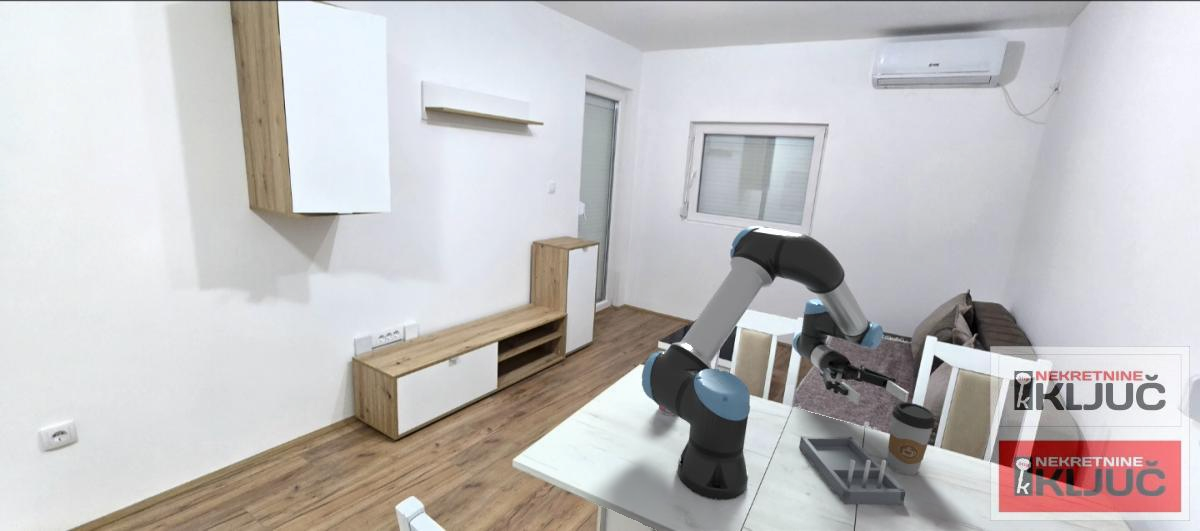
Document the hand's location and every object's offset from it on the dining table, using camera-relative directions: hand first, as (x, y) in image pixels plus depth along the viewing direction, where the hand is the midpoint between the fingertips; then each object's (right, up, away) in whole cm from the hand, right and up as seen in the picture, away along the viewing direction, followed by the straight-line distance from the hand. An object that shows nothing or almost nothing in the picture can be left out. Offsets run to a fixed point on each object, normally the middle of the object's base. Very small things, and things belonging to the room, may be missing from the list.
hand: (882, 398), depth 119 cm
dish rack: (-14, -14, -10) cm, 23 cm away
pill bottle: (-52, -7, +13) cm, 54 cm away
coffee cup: (+1, -15, -7) cm, 16 cm away
